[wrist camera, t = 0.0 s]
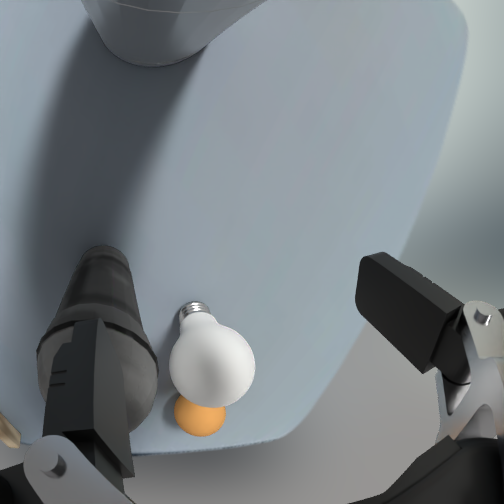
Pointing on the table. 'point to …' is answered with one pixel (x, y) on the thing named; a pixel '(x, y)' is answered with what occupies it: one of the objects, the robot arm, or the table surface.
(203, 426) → the ball
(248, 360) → the light bulb
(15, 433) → the rail
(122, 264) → the beverage cup
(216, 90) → the table surface
